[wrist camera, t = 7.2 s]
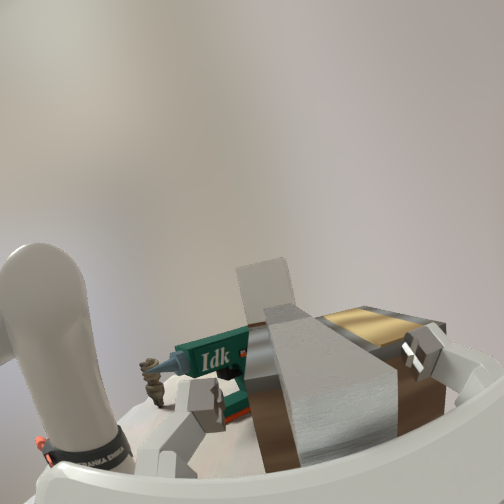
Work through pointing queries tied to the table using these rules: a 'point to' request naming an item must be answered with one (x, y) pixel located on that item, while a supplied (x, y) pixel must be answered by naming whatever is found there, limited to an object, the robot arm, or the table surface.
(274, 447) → the stand
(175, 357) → the power tool
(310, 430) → the brushed metal bar
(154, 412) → the table surface
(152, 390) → the brown carved figurine
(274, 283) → the white cradle pedestal
